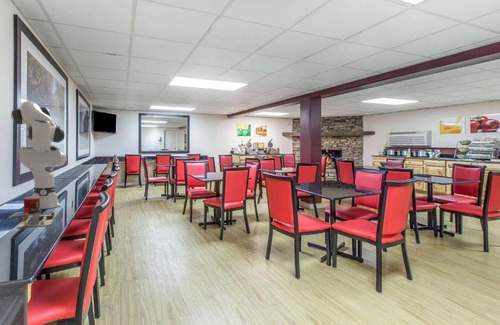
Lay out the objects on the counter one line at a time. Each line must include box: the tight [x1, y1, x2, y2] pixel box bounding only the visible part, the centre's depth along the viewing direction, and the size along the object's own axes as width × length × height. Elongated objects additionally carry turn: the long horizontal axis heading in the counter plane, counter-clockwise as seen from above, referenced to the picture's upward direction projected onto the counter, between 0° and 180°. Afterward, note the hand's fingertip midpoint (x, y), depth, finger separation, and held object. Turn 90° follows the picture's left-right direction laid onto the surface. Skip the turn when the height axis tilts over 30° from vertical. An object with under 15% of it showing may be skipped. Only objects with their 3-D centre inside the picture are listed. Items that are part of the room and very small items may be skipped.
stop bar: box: [31, 212, 42, 226], centre depth 151 cm, size 10×3×4 cm, turn 31°
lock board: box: [17, 210, 56, 230], centre depth 156 cm, size 24×14×4 cm, turn 31°
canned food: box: [23, 195, 41, 215], centre depth 171 cm, size 8×8×11 cm
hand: (41, 170), depth 162 cm, fingers open, 8 cm apart
